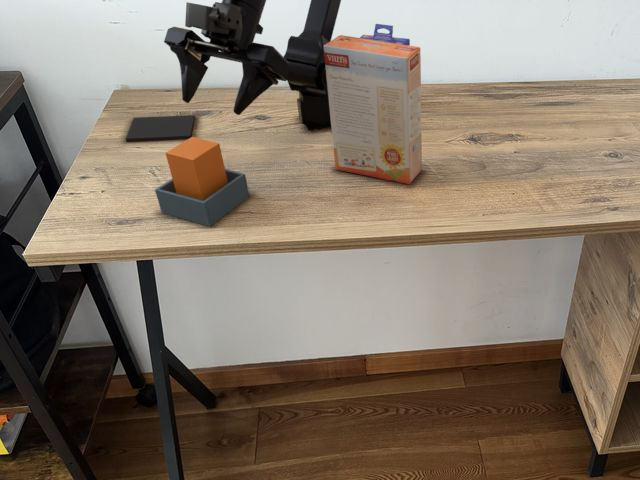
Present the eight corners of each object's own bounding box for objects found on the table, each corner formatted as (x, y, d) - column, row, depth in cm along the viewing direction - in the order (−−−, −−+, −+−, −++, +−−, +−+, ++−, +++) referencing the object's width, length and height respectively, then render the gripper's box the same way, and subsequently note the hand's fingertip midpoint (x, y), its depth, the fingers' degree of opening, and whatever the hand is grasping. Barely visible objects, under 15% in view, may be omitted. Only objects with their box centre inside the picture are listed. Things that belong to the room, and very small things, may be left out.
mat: (195, 118, 130) (194, 115, 130) (190, 138, 124) (190, 135, 123) (134, 120, 128) (133, 117, 128) (126, 141, 122) (125, 138, 121)
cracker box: (423, 170, 118) (422, 45, 104) (409, 186, 114) (407, 58, 100) (349, 155, 121) (340, 32, 107) (334, 170, 117) (321, 43, 103)
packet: (205, 189, 110) (192, 136, 104) (231, 196, 108) (219, 143, 102) (180, 206, 106) (165, 152, 99) (206, 214, 104) (193, 159, 98)
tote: (203, 184, 112) (198, 161, 109) (249, 196, 110) (245, 173, 107) (161, 212, 105) (154, 189, 102) (209, 226, 103) (204, 203, 100)
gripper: (155, -34, 97) (121, 70, 97) (266, -15, 92) (231, 95, 92) (203, 11, 108) (173, 104, 108) (305, 30, 103) (273, 128, 103)
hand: (210, 107), depth 102 cm, fingers open, 9 cm apart
